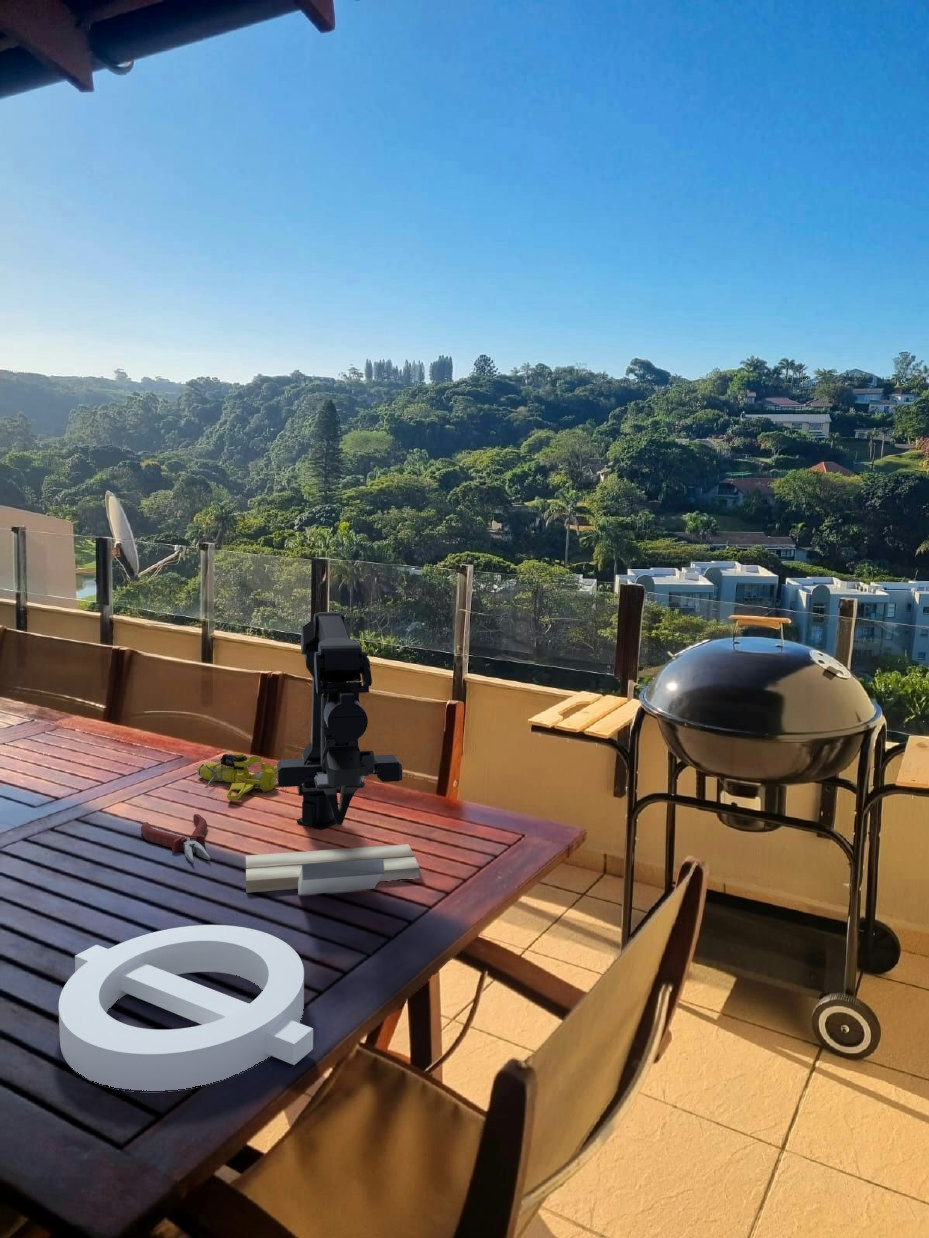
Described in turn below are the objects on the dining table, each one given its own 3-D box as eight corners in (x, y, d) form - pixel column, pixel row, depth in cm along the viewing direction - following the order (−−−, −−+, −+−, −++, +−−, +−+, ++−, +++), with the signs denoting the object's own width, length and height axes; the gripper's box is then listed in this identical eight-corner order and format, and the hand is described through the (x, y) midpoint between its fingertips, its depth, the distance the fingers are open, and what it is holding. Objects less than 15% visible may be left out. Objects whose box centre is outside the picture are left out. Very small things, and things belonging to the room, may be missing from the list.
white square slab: (297, 881, 140) (302, 864, 129) (372, 875, 143) (383, 858, 132) (298, 894, 139) (302, 878, 128) (373, 888, 142) (384, 872, 131)
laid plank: (245, 866, 149) (245, 854, 149) (408, 854, 156) (408, 843, 156) (246, 892, 140) (246, 879, 139) (419, 878, 146) (419, 866, 146)
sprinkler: (222, 737, 201) (295, 747, 193) (225, 769, 202) (297, 780, 194) (162, 764, 184) (239, 775, 176) (165, 798, 185) (242, 811, 177)
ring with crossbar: (317, 1071, 98) (317, 1031, 97) (40, 1115, 90) (39, 1072, 89) (292, 946, 124) (292, 914, 124) (77, 971, 116) (75, 938, 116)
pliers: (167, 874, 146) (167, 859, 146) (138, 834, 163) (138, 820, 163) (235, 861, 153) (235, 847, 152) (200, 823, 169) (200, 810, 169)
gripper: (279, 741, 124) (279, 847, 126) (409, 736, 129) (408, 838, 131) (276, 723, 135) (276, 821, 137) (396, 718, 140) (395, 814, 141)
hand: (339, 824), depth 136 cm, fingers closed
